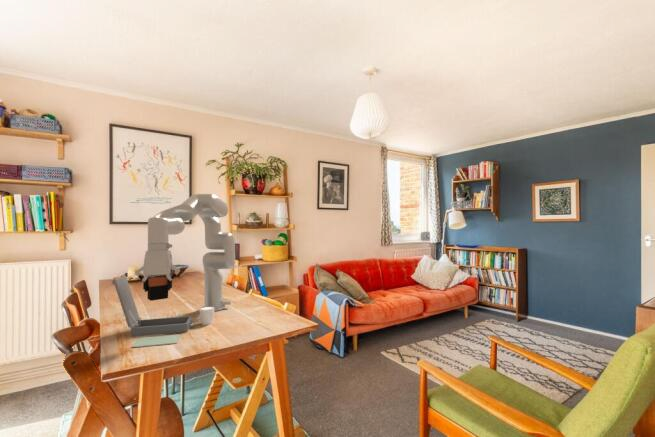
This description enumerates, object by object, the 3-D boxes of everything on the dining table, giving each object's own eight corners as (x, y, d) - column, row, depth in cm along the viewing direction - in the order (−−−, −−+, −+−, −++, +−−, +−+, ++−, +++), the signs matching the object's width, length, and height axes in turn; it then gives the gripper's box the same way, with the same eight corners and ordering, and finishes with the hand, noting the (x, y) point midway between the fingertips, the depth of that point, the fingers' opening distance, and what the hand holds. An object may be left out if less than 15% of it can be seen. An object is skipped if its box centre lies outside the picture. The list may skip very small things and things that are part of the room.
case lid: (125, 275, 145) (123, 275, 145) (115, 279, 133) (113, 280, 133) (139, 318, 146) (137, 319, 146) (131, 327, 134) (128, 327, 134)
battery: (168, 298, 131) (168, 274, 131) (150, 301, 126) (150, 275, 127) (165, 296, 134) (165, 272, 134) (147, 299, 130) (147, 274, 130)
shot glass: (217, 321, 155) (217, 306, 155) (207, 325, 148) (208, 310, 148) (205, 320, 157) (205, 305, 157) (196, 324, 151) (196, 309, 151)
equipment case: (191, 323, 152) (191, 300, 152) (187, 331, 140) (187, 306, 140) (136, 327, 146) (136, 303, 146) (127, 336, 134) (128, 310, 134)
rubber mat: (180, 335, 136) (180, 334, 136) (176, 343, 126) (176, 342, 126) (138, 338, 132) (138, 337, 132) (130, 347, 122) (130, 346, 122)
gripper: (182, 246, 137) (182, 287, 136) (137, 247, 132) (136, 289, 132) (179, 247, 129) (179, 291, 129) (131, 248, 125) (130, 293, 124)
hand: (157, 290), depth 130 cm, fingers closed on battery, 7 cm apart
